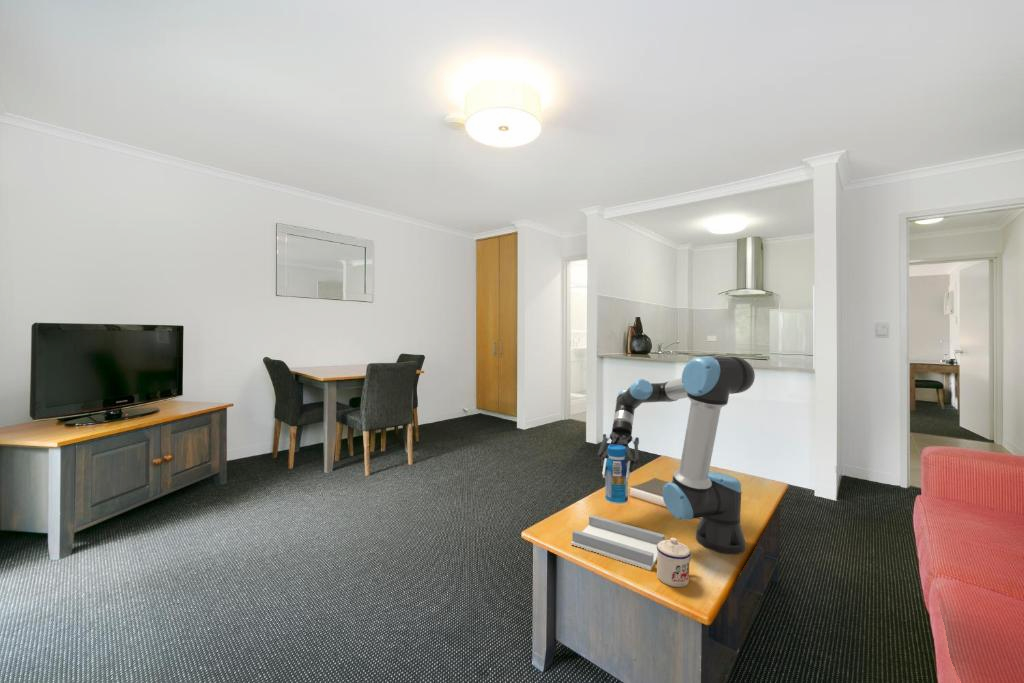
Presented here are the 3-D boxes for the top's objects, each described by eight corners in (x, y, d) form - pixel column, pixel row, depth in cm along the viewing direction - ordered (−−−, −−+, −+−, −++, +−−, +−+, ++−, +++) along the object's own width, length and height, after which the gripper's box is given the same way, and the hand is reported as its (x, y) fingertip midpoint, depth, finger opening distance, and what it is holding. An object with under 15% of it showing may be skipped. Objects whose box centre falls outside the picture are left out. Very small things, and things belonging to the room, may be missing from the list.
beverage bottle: (600, 499, 156) (600, 446, 155) (614, 494, 161) (615, 442, 160) (618, 506, 149) (618, 451, 149) (633, 501, 154) (633, 447, 154)
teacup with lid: (674, 591, 115) (675, 550, 114) (649, 574, 123) (650, 535, 122) (703, 579, 120) (704, 540, 120) (677, 564, 128) (678, 526, 128)
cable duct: (665, 545, 140) (665, 533, 139) (650, 570, 124) (651, 557, 124) (592, 524, 154) (592, 513, 154) (571, 545, 139) (571, 533, 139)
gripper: (650, 432, 165) (645, 486, 150) (598, 427, 173) (588, 478, 158) (649, 421, 160) (644, 476, 145) (595, 417, 168) (585, 468, 153)
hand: (615, 477), depth 152 cm, fingers closed on beverage bottle, 8 cm apart
